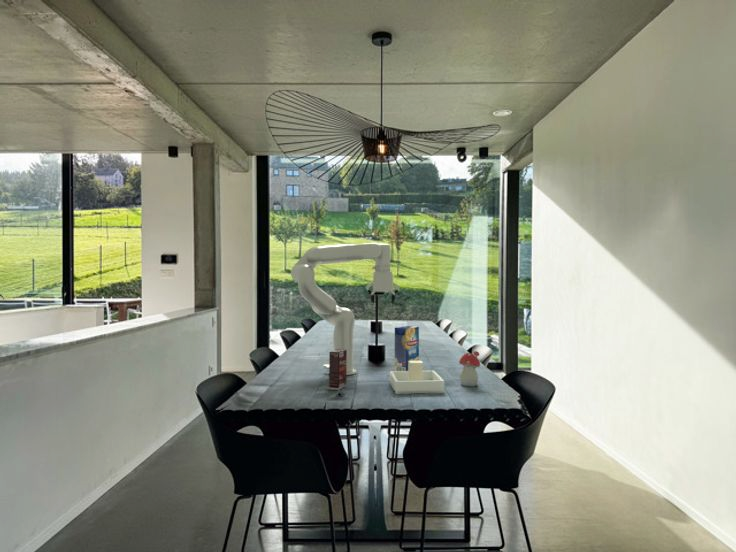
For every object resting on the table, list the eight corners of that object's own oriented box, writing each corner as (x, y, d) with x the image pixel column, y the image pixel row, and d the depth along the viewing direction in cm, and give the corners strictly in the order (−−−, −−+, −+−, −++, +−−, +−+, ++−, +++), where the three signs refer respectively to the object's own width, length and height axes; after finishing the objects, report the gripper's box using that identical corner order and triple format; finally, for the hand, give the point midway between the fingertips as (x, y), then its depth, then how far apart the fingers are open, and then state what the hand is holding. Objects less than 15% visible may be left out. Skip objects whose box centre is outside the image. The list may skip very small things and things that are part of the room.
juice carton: (410, 386, 227) (410, 363, 227) (408, 383, 233) (408, 360, 232) (423, 386, 228) (423, 362, 227) (420, 383, 233) (420, 360, 233)
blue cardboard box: (418, 371, 266) (418, 326, 266) (406, 374, 258) (406, 328, 257) (407, 369, 270) (407, 325, 270) (394, 373, 262) (394, 327, 261)
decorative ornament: (482, 385, 233) (482, 351, 233) (473, 388, 229) (473, 352, 229) (465, 382, 240) (465, 348, 240) (456, 384, 236) (456, 350, 236)
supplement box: (339, 390, 225) (339, 352, 225) (328, 389, 227) (328, 351, 226) (347, 386, 233) (347, 349, 233) (336, 385, 235) (336, 348, 234)
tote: (395, 394, 218) (395, 381, 218) (389, 382, 240) (389, 371, 240) (444, 393, 220) (444, 380, 220) (434, 381, 242) (434, 370, 242)
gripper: (366, 268, 266) (366, 303, 266) (400, 268, 267) (400, 303, 267) (365, 268, 274) (365, 302, 274) (399, 268, 275) (399, 302, 275)
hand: (382, 302), depth 271 cm, fingers open, 9 cm apart
